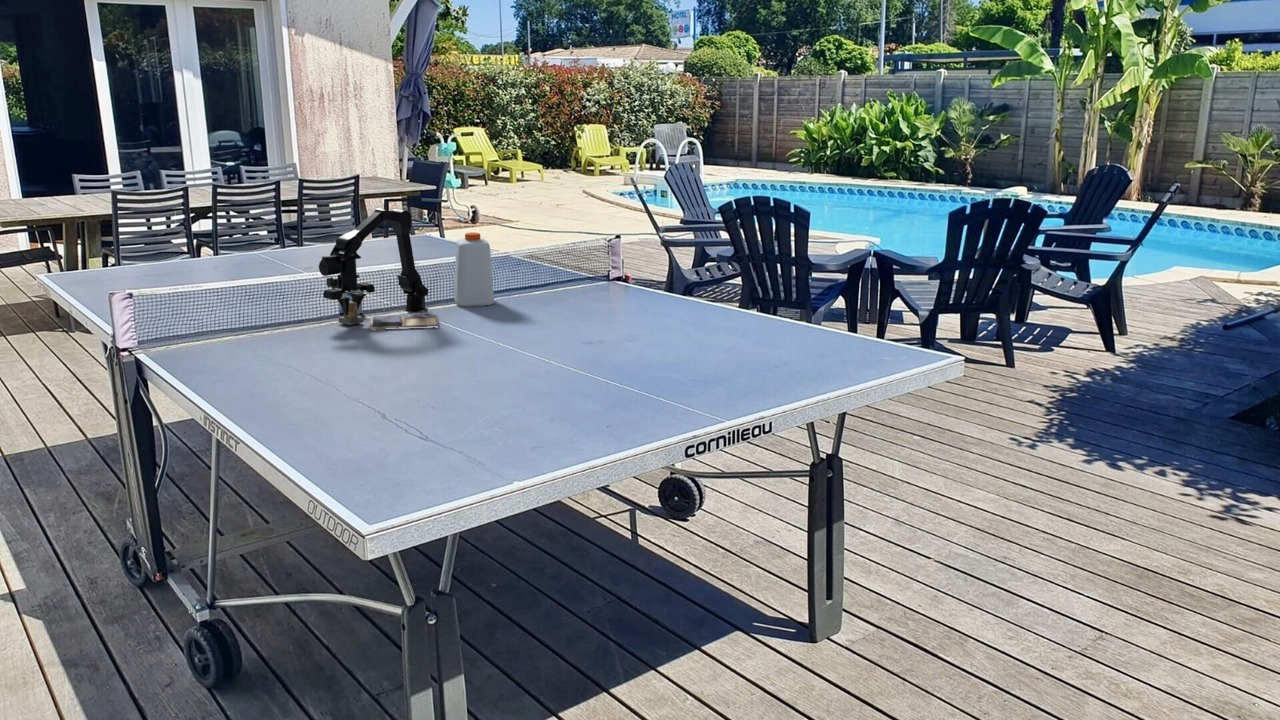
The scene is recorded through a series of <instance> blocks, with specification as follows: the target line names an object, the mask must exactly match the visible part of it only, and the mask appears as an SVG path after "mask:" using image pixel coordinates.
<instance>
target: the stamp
mask: <svg viewBox="0 0 1280 720" xmlns="http://www.w3.org/2000/svg"><path fill="white" fill-rule="evenodd" d="M343 312H344V311H343ZM338 323H341V324H343V325H347V326H352V325H357V324H362V323H364V318H363V316H360V315H358V312H357V302H354V301H349V309H348V315H345V314H343V315H342V316H339V317H338Z"/></svg>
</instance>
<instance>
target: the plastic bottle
mask: <svg viewBox="0 0 1280 720" xmlns="http://www.w3.org/2000/svg"><path fill="white" fill-rule="evenodd" d="M455 244H456V245H455V260H454V261H455V262H454V267H455V268H454V282H453V283H454V287H453V288H454V289H453V300H454V302H455V304H456V305H458V306H459V307H462V308H463V307H467V308H470V307H486V306H485V305H489V306H492V305H493V304H494V303H495V296H494V295H495V293H494V284H493V283H494V282H493V280H494V279H493V272H492V259H491V256H492V255H491V245H490V244H489V241H487V240H486V239H484V238H481V233H479V232H474V231H473V232H466V233H465V234H464V238H461V239H458V240H456V243H455ZM491 304H492V305H491Z"/></svg>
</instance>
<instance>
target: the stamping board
mask: <svg viewBox="0 0 1280 720" xmlns="http://www.w3.org/2000/svg"><path fill="white" fill-rule="evenodd" d="M369 323H370V324H369V330H370V329H386V328H399V327H427V326H438V327H439V322H438V317H437V316H417V317H416V316H414V317H413V316H412V317H410V316H409V317H402V316H401V315H376V316H372V318H371V319H370V322H369Z"/></svg>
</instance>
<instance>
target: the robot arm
mask: <svg viewBox="0 0 1280 720" xmlns="http://www.w3.org/2000/svg"><path fill="white" fill-rule="evenodd" d="M385 221H389V223H390V227H391V229H392V230H393V232H394V233H395V235H396V236H395V237H396V241H397V246H398V253H399V259H400V264H401V272H400V274H397V281H398V286H400V288H401V290H402V292H403V294H404V295H406V299H405V300H406V308H404V311H407V312H411V313H419V312H423V311H424V312H425V311H428V309H429V308H428V307H426V298H425V297H427V296H428V294H429V289H428V288H427V287H426V286H425V285H424V284H423V281H422V277H421V275H420V273H419V272H418V271H417V269H416V265H415V258H414V252H413V247H412V241H411V234H410V232H411V229H412V226H413V216H412V214H411V212H410V211H408V210H403V209H399V208H394V209H391V210H388V209H385V208H381V207H379V208H375V209H374V211H373V212H372V214H370V215H369V216H367V218H365V219H364V220H363V221H362V222H361V223H360V224H358V226H356V227H355V228H354V229H353V230H351V231H349V232H346V233H344V234H341V236H339V237H338V238H337V239H336V241H335V244H334V246H333V248H332V250H331V252H330V254H329V255H328V256H327V255H326V256H325V255H323V256H321V260H320V261H319V264H318V270H319V272H320V274H321V276H324V277H327V276H332V275H334V276H335V275H337V278H335V279H334V277H328V278H326V286H327V288H329V289H324V291H323V295H322V296H323V299H327V300H331V301H336V300H337V301H338V304H339V303H340V305H341V307H342V309H343V311H344V314H345V315H348V309H349V298H347V295H346V294H350V295H351V297H352V301H354V302H357V310H358V308H359V306H360V304H361V302H362V303H363V300H364V297H367V294H371V293H375V292H376V289H375V286H374V284H373V283H370V282H360V283H358V278H360V275H359V274H358V272H357V260H359V259H362V256H361V255H359V253H358V250H359V249H360V248H361V247H362V245H363V241H364V240H365V239H366V238H367V237H369V235H370V234H372V233H373V232H374V231H375V230H376V229H378V228H379V226H381V225H382V224H383V223H384V222H385ZM351 290H352V291H351ZM345 291H348V292H345ZM364 291H365V292H366V293H367V294H366V293H364ZM344 314H343V315H344Z"/></svg>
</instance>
